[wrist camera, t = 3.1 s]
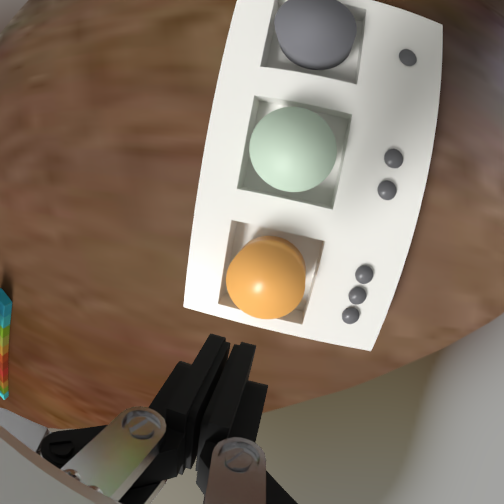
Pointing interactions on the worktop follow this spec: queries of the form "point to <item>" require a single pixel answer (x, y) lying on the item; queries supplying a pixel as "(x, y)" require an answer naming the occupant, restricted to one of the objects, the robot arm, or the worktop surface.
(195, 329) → the worktop surface
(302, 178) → the sage button
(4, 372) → the chart
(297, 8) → the charcoal button
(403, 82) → the button panel
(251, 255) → the orange button
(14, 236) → the worktop surface
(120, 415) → the robot arm
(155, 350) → the worktop surface
